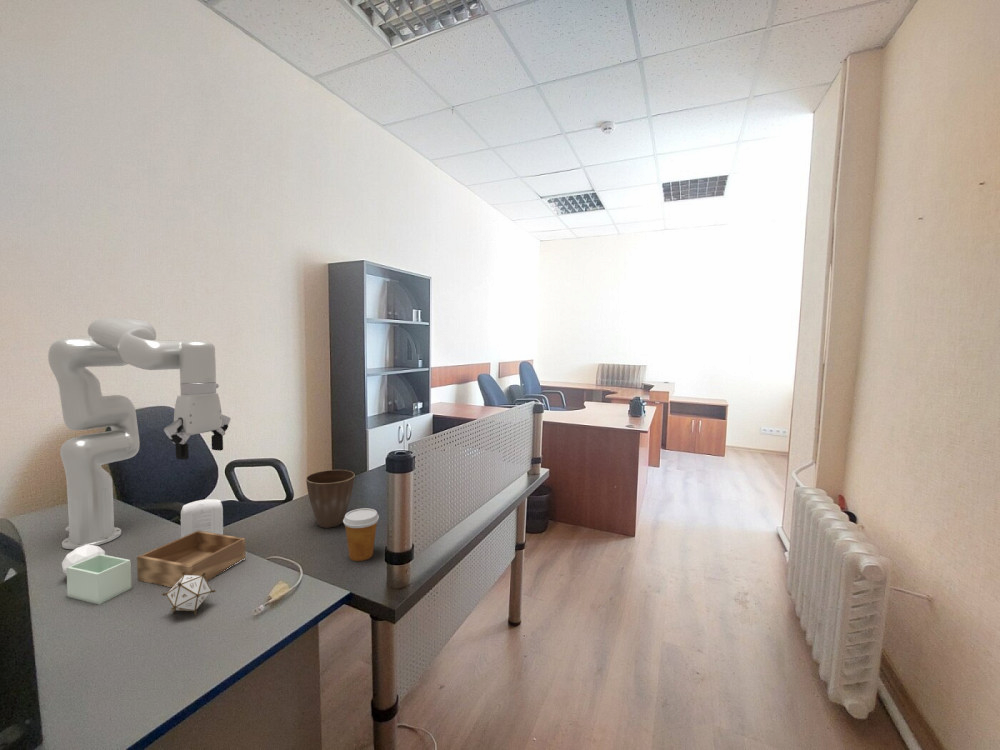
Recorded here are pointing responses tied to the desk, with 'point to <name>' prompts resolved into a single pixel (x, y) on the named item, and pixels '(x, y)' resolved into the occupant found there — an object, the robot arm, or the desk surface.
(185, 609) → the game die
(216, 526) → the photo printer
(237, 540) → the big crate
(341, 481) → the plant pot
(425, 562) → the desk surface
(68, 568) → the box
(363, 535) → the disposable coffee cup
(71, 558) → the geometric ball
